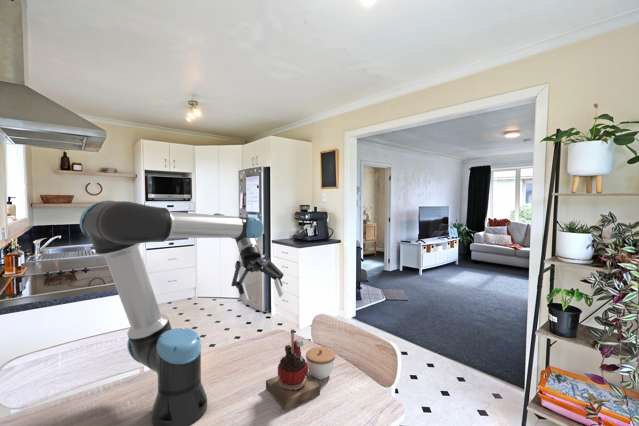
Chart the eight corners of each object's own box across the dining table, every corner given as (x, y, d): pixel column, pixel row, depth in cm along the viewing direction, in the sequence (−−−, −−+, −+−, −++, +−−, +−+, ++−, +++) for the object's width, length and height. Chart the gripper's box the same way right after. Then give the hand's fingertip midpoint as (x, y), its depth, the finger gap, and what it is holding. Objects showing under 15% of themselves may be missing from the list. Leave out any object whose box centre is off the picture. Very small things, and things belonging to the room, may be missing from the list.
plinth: (285, 410, 91) (285, 401, 91) (265, 389, 101) (265, 380, 101) (319, 394, 99) (320, 385, 99) (298, 375, 109) (298, 367, 109)
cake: (273, 378, 102) (273, 326, 102) (299, 371, 107) (299, 321, 106) (285, 396, 93) (284, 339, 92) (312, 387, 97) (312, 333, 96)
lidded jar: (335, 367, 115) (335, 343, 114) (334, 384, 104) (334, 357, 104) (307, 365, 116) (308, 341, 115) (303, 382, 105) (303, 356, 105)
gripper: (274, 253, 130) (291, 297, 118) (215, 259, 116) (228, 309, 104) (280, 243, 125) (298, 287, 114) (219, 247, 111) (233, 299, 100)
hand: (264, 298), depth 109 cm, fingers open, 13 cm apart
